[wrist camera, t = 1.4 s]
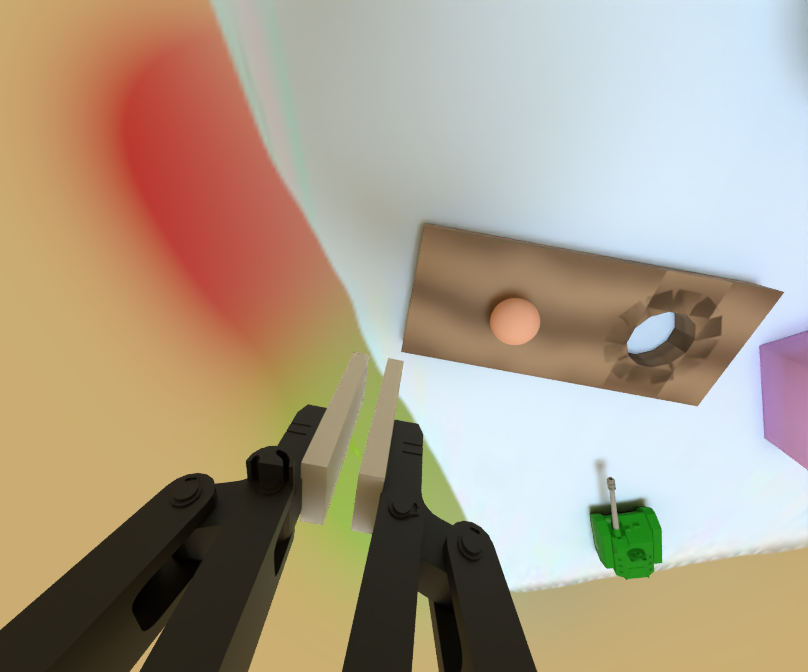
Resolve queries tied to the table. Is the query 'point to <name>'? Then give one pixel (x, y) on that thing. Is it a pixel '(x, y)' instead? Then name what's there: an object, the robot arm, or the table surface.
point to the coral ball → (515, 321)
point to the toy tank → (627, 539)
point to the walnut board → (578, 314)
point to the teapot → (786, 395)
